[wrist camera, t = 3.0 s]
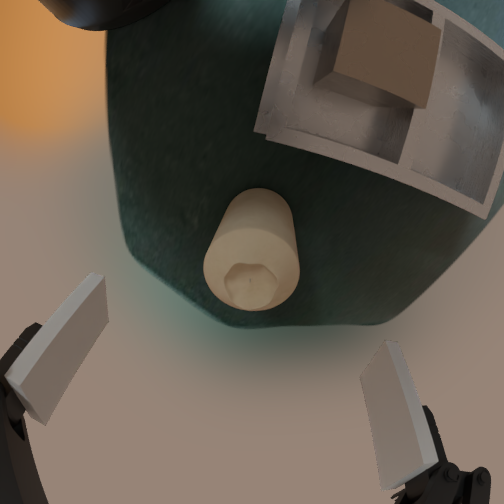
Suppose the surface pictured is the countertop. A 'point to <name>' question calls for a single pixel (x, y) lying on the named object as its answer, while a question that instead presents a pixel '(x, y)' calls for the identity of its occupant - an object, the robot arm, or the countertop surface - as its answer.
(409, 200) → the countertop surface
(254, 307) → the candle
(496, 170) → the divided tray
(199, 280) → the countertop surface
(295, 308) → the countertop surface
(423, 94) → the block
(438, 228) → the countertop surface
